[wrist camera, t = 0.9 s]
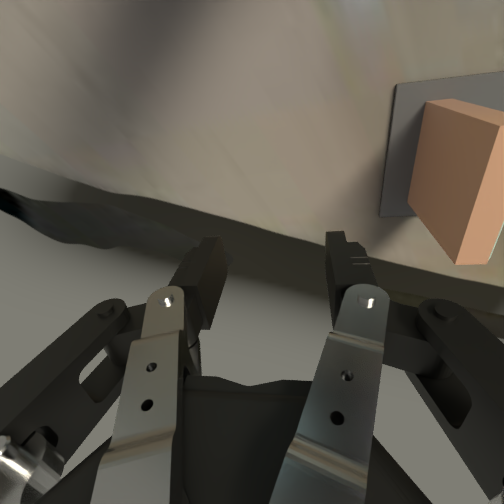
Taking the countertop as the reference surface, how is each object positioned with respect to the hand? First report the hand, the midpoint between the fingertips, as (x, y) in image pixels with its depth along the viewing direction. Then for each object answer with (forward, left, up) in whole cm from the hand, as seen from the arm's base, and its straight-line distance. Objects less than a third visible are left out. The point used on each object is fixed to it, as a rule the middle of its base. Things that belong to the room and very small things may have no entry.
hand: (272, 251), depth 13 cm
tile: (-2, +17, -27) cm, 32 cm away
